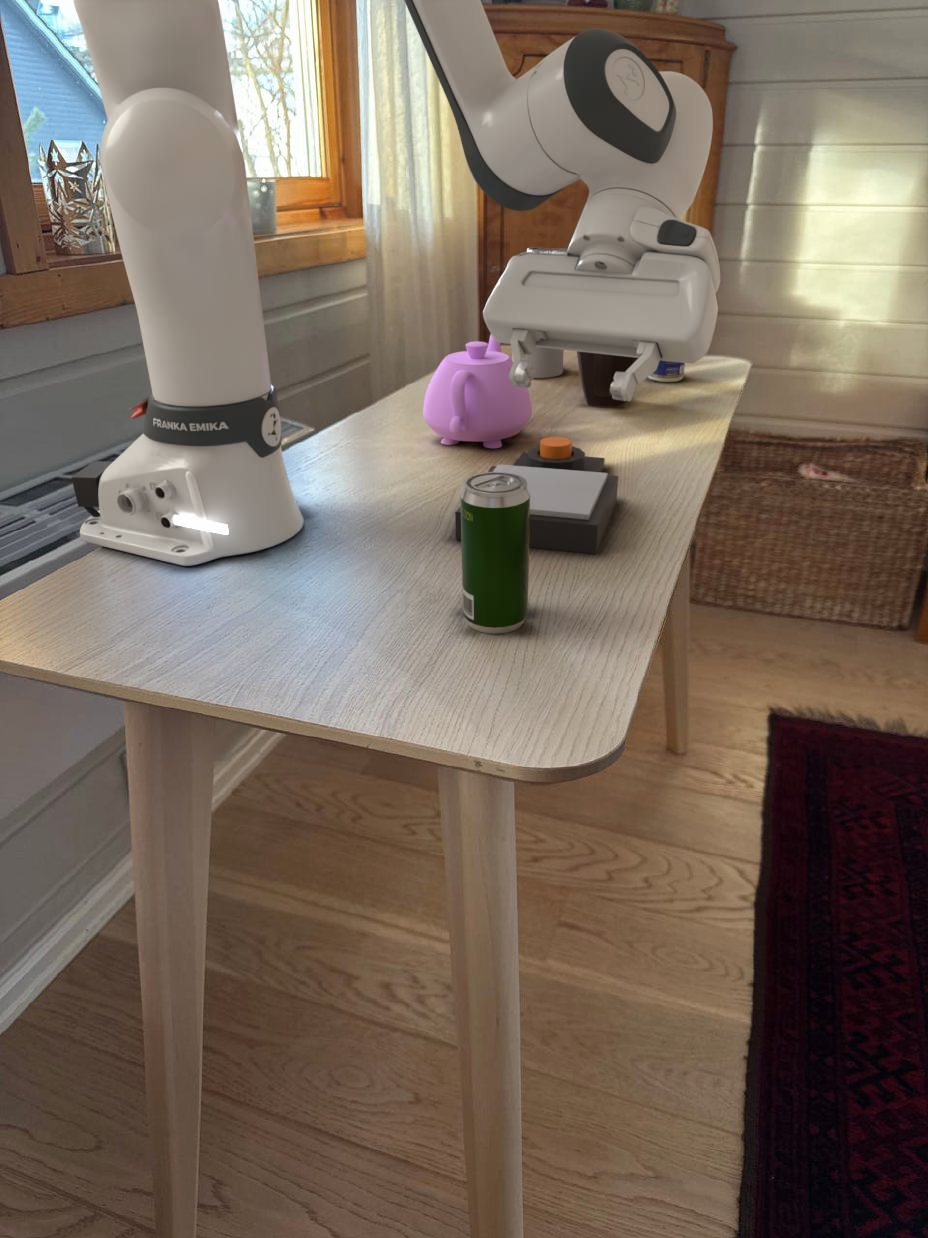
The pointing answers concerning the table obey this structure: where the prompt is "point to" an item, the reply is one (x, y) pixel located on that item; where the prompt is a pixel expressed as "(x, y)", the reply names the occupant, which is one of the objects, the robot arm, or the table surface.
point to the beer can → (495, 551)
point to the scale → (564, 507)
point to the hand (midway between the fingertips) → (567, 389)
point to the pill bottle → (668, 371)
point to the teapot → (476, 397)
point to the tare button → (555, 448)
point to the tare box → (561, 461)
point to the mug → (601, 377)
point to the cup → (546, 362)
